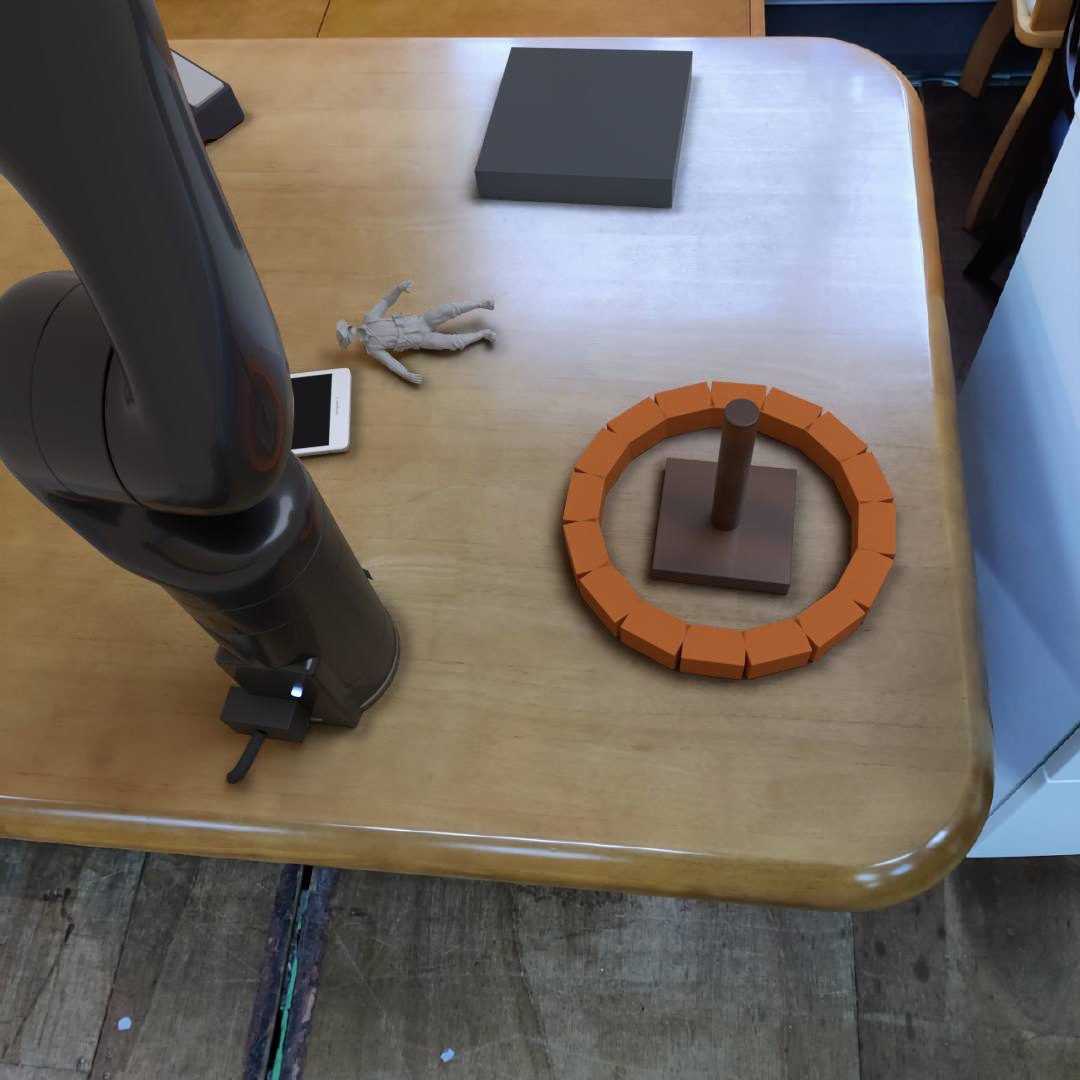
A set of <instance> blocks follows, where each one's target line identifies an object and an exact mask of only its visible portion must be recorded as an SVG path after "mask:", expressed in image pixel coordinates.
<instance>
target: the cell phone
mask: <svg viewBox="0 0 1080 1080" xmlns="http://www.w3.org/2000/svg"><path fill="white" fill-rule="evenodd" d="M290 376H291V383H292V390H293V398H294V426H293V437H292V445H291V451H292V452H293V453H294V454H295V455H296V456H297V457H298V458H300V457H301V458H302V457H309V456H316V455H326V454H335V453H345V452H347V451H348V450H349V449H350V444H351V417H352V416H351V415H352V388H353V375H352V373H351V371H350V368H348V367H341V368H331V369H322V370H315V371H305V372H298V373H290Z"/></svg>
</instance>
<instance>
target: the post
mask: <svg viewBox="0 0 1080 1080" xmlns="http://www.w3.org/2000/svg"><path fill="white" fill-rule="evenodd" d="M759 416H760V411H759V408H758V406H757V405H756V404H755V403H754V402H752V401H751V400H748V399H743V398H740V399H735V400H732V401H731V402H729V403H728V404H727V405H726V407H725V410H724V417H723V425H722V428H721V434H720V442H719V449H718V450H719V451H718V458H717V461H709V460H708V461H707V460H699V459H687V458H676V457H666V461H665V468H664V476H663V484H662V490H661V491H662V492H661V497H660V498H661V499H660V505H659V506H660V507H659V514H658V522H657V528H656V536H655V543H654V551H653V557H652V566H651V579H652V580H658V581H667V582H676V583H684V584H686V583H687V584H693V585H702V586H712V587H721V588H729V589H737V590H746V591H747V590H748V591H755V592H765V593H773V594H781V595H788V593H789V590H790V587H791V582H792V581H791V580H792V579H791V578H792V563H793V561H792V560H793V544H794V529H795V509H796V491H797V476H798V475H797V474H798V473H797V472H798V471H797V469H795V468H794V469H793V468H783V467H773V466H764V465H763V466H762V465H752V461H753V455H754V450H755V449H754V448H755V443H756V437H757V432H758V431H757V427H758V422H759Z"/></svg>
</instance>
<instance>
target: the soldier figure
mask: <svg viewBox="0 0 1080 1080" xmlns="http://www.w3.org/2000/svg"><path fill="white" fill-rule="evenodd" d="M414 284H415V282H414V280H404V281H402V282H400V283H399V284H397V285H395V286H394V287H393V288H392V289H391V290H389V291H388V292H387V293H386V294H385V295H383V297H381V299H380V300H379V301H378V302H377V303H376V304H375V305H374V306H373V307H371V308H370V309H369V310H368V311H367V312H366V313H364V315H363V318H362V324H361V325H360V326H358V328H356V327H357V326H354V327H353V324H347V323H346V322H345V319H344V318H341V319H340V320H339V321H338V322H337V324H336V328H335V329H336V331H335V332H336V334H335V337H336V340H337V342H338V346H339V348H340V349H345V350H347V349H348V347H349V346H350V345H351V344H353V343H354V340H355V335H356V333H357V340H358V342H360V343H362V344H364V348H365V350H366V353H367V354H368V355H370V356H371V357H373V358H374V359H376V360H377V361H379V363H380V364H382V365H384V366H386V367H387V368H388V369H389V370H390V371H391V372H393V373H395V374H396V375H397V376H400V377H401V378H403V379H404V380H408V381H409V382H411V383H414V384H419V385H421V384H423V383H422V382H423V378H422V374H418V373H412V372H410V371H409V369H407V368H406V367H405V366H404V365H402V363H401V362H400V361H399V360H397V359H396V358H395V357H393V356H392V355H391V354H390V353H389V352H388V351H387V350H388V349H389V350H390V349H392V350H393V352H403V353H404V351H405V350H409V349H414V350H420V349H426V350H436V351H437V350H438V351H440V350H441V351H442V350H445V349H447V350H451V351H456V350H458V349H459V350H463V349H465V347H466V346H468V345H470V344H472V343H474V342H478V341H480V340H482V339H483V338H484V339H485V340H488V341H490V342H492V343H495V342H496V339H497V333H496V331H492V329H491V328H484V329H482V330H481V329H480V330H478V331H476V332H469V333H462V334H461V333H457V334H456V333H453V334H449V333H442V332H438V331H435V330H436V329H437V327H439V326H441V325H443V324H445V323H446V322H448V321H449V320H454V319H455V318H456V317H457V316H460V315H462V314H465V313H469V312H472V311H473V310H475V309H484V310H489V311H494V310H495V300H494V299H481V300H466V301H465V300H463V301H451V302H450V303H441V304H440V305H438V306H436V307H435V308H433V309H431V310H429V311H428V312H426V313H423V314H421V315H419V316H418V314H411V315H403V312H394V313H391V317H386V316H385V317H384V315H385V314H386V313H387V311H388V310H389V308H391V307H392V306H394V305H395V304H396V302H397V301H398V299H399V298H400V296H401V294H402V293H403V292H404V293H406V294H411V291H410V290H407V289H408V288H413V286H414Z"/></svg>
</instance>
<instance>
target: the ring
mask: <svg viewBox="0 0 1080 1080" xmlns="http://www.w3.org/2000/svg"><path fill="white" fill-rule="evenodd" d="M767 388H768V387H767V385H766V384H756V383H755V384H753V383H742V382H731V381H730V382H729V381H728V382H727V381H717V380H713V381H711V387H709V384H708V383H707V381H702V382H698V383H693V384H690V385H686V386H681V387H675V388H673V389H667V390H664V391H659V392H655V393H654V397H653V398H654V400H653V399H652V398H651V396H646V398H644V399H643V400H641V401H639V402H638V403H636V404H634V405H632V406H631V407H630V408H628V409H627V410H625V411H624V412H622V413H620V414H618V415H617V416H616V417H614V418H613V419H611V420H609V421H607V423H606V428H605V427H601V428H600V429H599V431H598V432H597V434H596V435H595V437H594V438H593V439H592V441H591V442H590V444H589V445H588V446H587V448H586V450H584V452H583V453H582V455H581V456H580V458H579V459H578V460H577V462H576V463H575V465H574V466H573V469H574V471H571V474H570V478H569V484H568V489H567V494H566V500H565V506H564V510H563V515H562V523H563V525H562V528H563V535H564V536H563V537H564V542H565V547H566V550H567V553H568V557H569V561H570V565H571V568H572V572H573V576H574V579H575V583H576V587H577V590H578V591H579V590H580V596H581V597H582V599H583V600H584V601H585V602H586V603H587V605H588V606H589V607H590V608H591V609H592V610H593V612H594V613H595V615H596V616H598V618H599V619H600V620H601V622H602V623H603V624H604V625H605V626H606V628H607V629H608V630H609V631H610V633H611V634H612V635H613V636H614V637H615V638H617V637H618V636H620V642H621V643H623V644H625V645H626V646H629V647H630V648H632V649H633V650H636V651H637V652H639V653H641V654H643V655H645V656H647V657H649V658H651V659H652V660H654V661H656V662H658V663H660V664H662V665H664V666H666V667H667V668H669V669H671V670H674V669H675V667H677V664H678V663H679V662H680V664H679V672H681V673H689V674H695V675H696V674H697V675H702V676H703V675H704V676H710V677H711V676H712V677H718V678H728V679H735V680H741V679H742V677H743V673H744V672H745V675H746V678H747V679H748V680H750V679H754V678H758V677H762V676H766V675H770V674H774V673H779V672H783V671H786V670H791V669H794V668H799V667H803V666H806V665H808V662H809V660H810V661H811V662H815V661H817V660H818V659H819V658H820V657H822V656H824V655H825V654H826V653H827V652H828V651H830V650H831V649H832V648H834V647H836V646H837V645H838V644H839V643H841V642H842V641H843V640H845V639H846V638H847V637H849V636H850V635H851V634H853V633H854V632H855V631H857V630H858V629H859V627H860V625H861V623H864V622H865V619H866V617H867V615H868V613H869V612H870V610H871V608H872V606H873V604H874V602H875V601H876V598H877V596H878V595H879V592H880V591H881V588H882V587H883V585H884V583H885V581H886V579H887V578H888V575H889V573H890V572H891V569H892V568H893V565H894V563H895V560H894V559H895V557H896V555H897V504H896V503H895V502H893V501H894V499H895V496H894V494H893V492H892V490H891V488H890V486H889V484H888V482H887V479H886V477H885V475H884V473H883V471H882V469H881V467H880V465H879V463H878V461H877V459H876V457H875V454H874V453H873V451H868V449H869V446H868V444H867V443H865V442H864V441H863V440H862V439H861V438H860V437H859V436H857V434H856V433H855V432H853V431H852V430H851V429H850V428H848V427H847V426H846V424H844V423H843V422H842V421H841V420H839V418H838V417H836V416H835V415H834V414H833V413H832V412H830V411H829V410H828V411H826V412H824V413H823V409H824V407H823V406H821V405H819V404H815V403H813V402H812V401H811V402H810V401H809V400H807V399H803V398H801V397H799V396H796V395H794V394H791V393H789V392H787V391H784V390H781V389H779V388H776V387H774V386H772V387H771V389H770V390H769V391H768V393H767ZM740 398H743V399H748V400H751V401H752V402H754V403H755V404H756V405H757V406H758V408H759V411H760V416H759V422H758V427H757V432H758V433H761V434H764V435H766V436H768V437H770V438H773V439H775V440H778V441H780V442H782V443H784V444H787V445H789V446H791V447H794V448H796V449H798V450H801V451H802V453H804V454H805V455H806V456H807V457H808V458H809V459H810V460H811V461H812V462H813V463H814V464H816V466H817V467H819V468H820V469H821V470H822V471H823V472H824V473H825V474H826V475H827V476H828V477H830V478H831V480H832V481H833V482H834V484H835V486H836V488H837V491H838V492H839V495H840V497H841V499H842V502H843V504H844V507H845V508H846V510H847V513H848V515H849V517H850V519H851V541H850V542H851V543H850V561H849V562H848V564H847V566H846V568H845V570H844V572H843V573H842V575H841V577H840V579H839V581H838V583H837V584H836V586H835V588H834V589H832V590H831V591H829V593H827V594H825V595H824V596H823V597H821V598H820V599H819V600H817V601H816V602H815V603H813V604H812V605H810V606H809V607H808V608H806V609H805V610H803V611H802V612H801V613H800V614H798V615H797V616H795V617H793V618H789V619H785V620H780V621H777V622H773V623H768V624H765V625H764V624H763V625H760V626H756V627H753V628H748V629H744V630H742V629H734V628H724V627H716V626H709V625H700V624H692V623H688V622H686V621H685V620H683V619H681V618H679V617H677V616H675V615H673V614H671V613H670V612H667V611H665V610H663V609H661V608H660V607H657V606H655V605H654V604H651V603H650V602H648V601H646V600H644V599H642V597H640V595H639V594H638V593H637V592H636V590H635V589H634V588H633V587H632V586H631V585H630V583H628V581H627V580H626V579H625V578H624V577H623V576H622V575H621V573H620V572H619V571H618V570H617V569H616V568H615V566H614V565H613V564H612V563H611V560H610V556H609V552H608V549H607V546H606V543H605V539H604V536H603V533H602V522H603V516H604V512H605V511H604V510H605V504H606V499H607V495H608V494H609V492H610V491H611V490H612V488H613V487H614V485H615V483H616V482H617V480H618V479H619V478H620V476H621V475H622V474H623V472H624V470H625V469H626V468H627V466H628V465H629V463H630V461H632V460H633V459H636V458H637V457H639V456H640V455H641V454H643V453H645V452H646V451H647V450H649V449H650V448H652V447H654V446H655V445H656V444H658V443H660V442H661V441H662V440H663V441H664V439H666V438H670V437H674V436H679V435H682V434H687V433H691V432H695V431H699V430H704V429H709V428H719V429H720V428H721V429H722V425H723V417H724V410H725V407H726V405H727V404H728V403H729V402H731V401H732V400H735V399H740ZM822 413H823V414H822Z"/></svg>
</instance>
